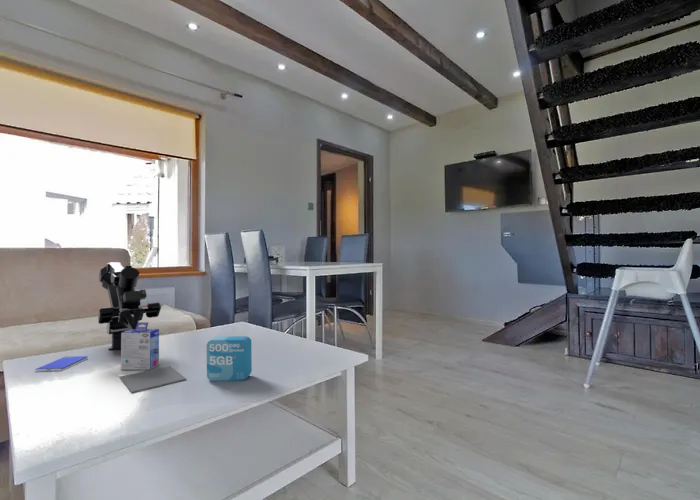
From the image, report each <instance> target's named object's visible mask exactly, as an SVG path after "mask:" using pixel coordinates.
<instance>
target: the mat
mask: <svg viewBox="0 0 700 500" xmlns="http://www.w3.org/2000/svg"><path fill="white" fill-rule="evenodd" d="M119 379H120V380H121V382H122V383H123V384H124V386H126V388H127V390H129V392H130V393H131V394H135V393H138V392H143V391H146V390H151V389H155V388H160V387H164V386H167V385H172V384H175V383H179V382H183V381H187V378H186V377H185V376H184V375H182V374H181V373H180V372H178V371H177V370H176V369H175V368H173V367H172V366H171V365H167V366H163V367H157V368H152V369H150V370H142V371H139V372H136V373H135V372H134V373H129V374H124V375H120V376H119Z"/></svg>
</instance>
